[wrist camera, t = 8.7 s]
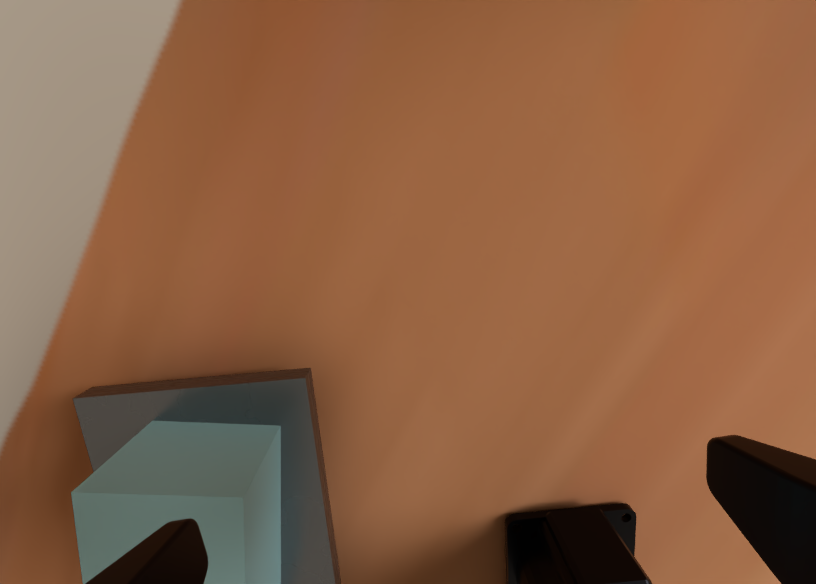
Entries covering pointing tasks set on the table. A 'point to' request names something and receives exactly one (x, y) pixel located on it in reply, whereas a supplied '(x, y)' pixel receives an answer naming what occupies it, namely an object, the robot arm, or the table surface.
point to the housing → (188, 498)
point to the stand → (236, 404)
